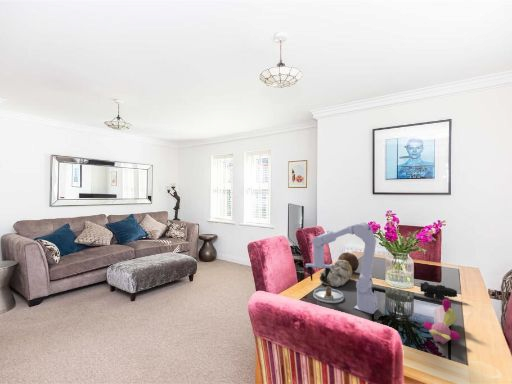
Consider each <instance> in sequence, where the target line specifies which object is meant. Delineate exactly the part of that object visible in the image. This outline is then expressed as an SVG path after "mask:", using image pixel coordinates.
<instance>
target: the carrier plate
mask: <svg viewBox="0 0 512 384" xmlns="http://www.w3.org/2000/svg"><path fill="white" fill-rule="evenodd" d="M324 294H326V287H321V288H320V287H319V288H316V289H314V290H313V295H312V296H313V298H314V299H315V300H316V301H319V302H322V303H328V304H337V303H341V302H343V301H344V293H343V292H342V291H341V290H338V289H335V288H332V287H331V295H333V299H332V298H324Z"/></svg>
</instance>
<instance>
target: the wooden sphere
mask: <svg viewBox="0 0 512 384" xmlns="http://www.w3.org/2000/svg"><path fill="white" fill-rule="evenodd" d="M338 260H346V261H348V262H349V264H350V265H351V268H352V274H353V273H355V272H356V271H357V270H358V269H359V266H360V265H359V264H360V263H359V259H358V257H357V256H356V255H355V254H354V253H352V252H347V251H346V252H343V253H341V254H340V255H339V256H338V258H337V261H338Z"/></svg>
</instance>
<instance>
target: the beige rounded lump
mask: <svg viewBox="0 0 512 384" xmlns="http://www.w3.org/2000/svg"><path fill="white" fill-rule="evenodd" d="M331 265H332V269H330V272H329V274H328V276H327V280H326V282H325V269H323V270H322V271H321V272H320V273H319V275H320V276H319V280H320V282H321V283H322V284H323V285H327V286H330V287H337V288H338V287H340V286H341V287H342V286H343V285H345V284H346V283H347V282H349V280H351V278H352V276H353V273H352V268H351V265H350V264H349V262H348V261H346V260H338V259H337V261H336V262H335V263H334V264H333V263H332V264H331Z"/></svg>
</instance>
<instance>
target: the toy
mask: <svg viewBox="0 0 512 384" xmlns="http://www.w3.org/2000/svg"><path fill="white" fill-rule="evenodd" d="M451 304H452V303H451V301H450V300H449V299H447V298H446V299H445V298H444V299H442V305H438V306H436V307H435V308H434V313H433V315H434V317H435V320H436V322H435V323H432V322H430V321H424V323H423V327H424V328H425V329H426V330H427V331H428V332H429V333H430V334H431V336H432V337H433V338H432V339H433V341H434V342H436V343H437V342H438V343H439V342H440V344H441V345H445V344H447V342H449V341H450V340H455V341H457V340H459V339H461V335H460V333H458V332H457V331H456V330H455V331H454V330H451V329H450V327H451V326H452V325H453V324H454V323H455V322H456V321H457V314H456V312H455V310H454V309H453V308H451Z"/></svg>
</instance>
